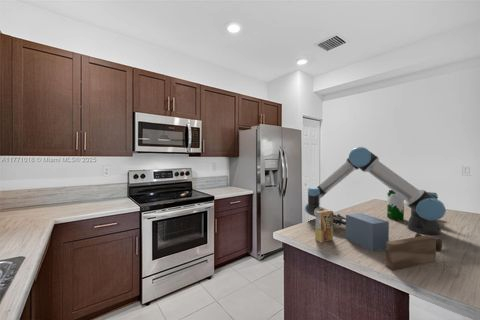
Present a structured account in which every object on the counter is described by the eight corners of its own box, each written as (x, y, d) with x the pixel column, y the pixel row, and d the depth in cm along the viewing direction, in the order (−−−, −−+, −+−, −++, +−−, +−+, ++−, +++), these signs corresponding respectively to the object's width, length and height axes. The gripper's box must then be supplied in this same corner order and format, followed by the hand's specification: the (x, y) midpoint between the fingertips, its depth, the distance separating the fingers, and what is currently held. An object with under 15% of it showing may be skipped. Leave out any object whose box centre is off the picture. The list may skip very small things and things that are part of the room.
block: (345, 238, 113) (345, 214, 112) (360, 236, 116) (360, 213, 115) (372, 251, 97) (372, 223, 97) (388, 248, 100) (388, 221, 100)
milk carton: (385, 216, 152) (385, 189, 152) (399, 217, 150) (399, 189, 150) (391, 220, 144) (391, 191, 143) (406, 221, 142) (406, 191, 141)
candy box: (327, 237, 114) (327, 209, 114) (333, 239, 111) (333, 211, 110) (315, 240, 111) (315, 211, 110) (321, 243, 107) (321, 213, 106)
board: (386, 266, 84) (386, 241, 84) (427, 257, 91) (427, 235, 91) (393, 270, 81) (393, 244, 81) (435, 261, 88) (435, 237, 88)
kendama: (407, 252, 97) (418, 240, 109) (434, 261, 90) (444, 247, 102) (407, 240, 97) (419, 229, 109) (435, 247, 89) (444, 235, 101)
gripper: (331, 218, 139) (361, 230, 116) (314, 220, 135) (342, 233, 113) (331, 207, 139) (361, 217, 116) (314, 209, 135) (342, 219, 112)
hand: (351, 225), depth 114 cm, fingers closed
